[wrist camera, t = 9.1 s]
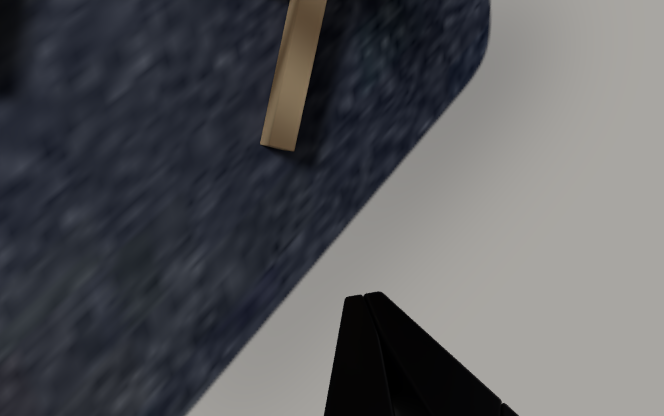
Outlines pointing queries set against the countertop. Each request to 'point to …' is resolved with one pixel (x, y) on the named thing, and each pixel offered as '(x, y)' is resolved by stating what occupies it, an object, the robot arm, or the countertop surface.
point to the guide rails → (292, 73)
